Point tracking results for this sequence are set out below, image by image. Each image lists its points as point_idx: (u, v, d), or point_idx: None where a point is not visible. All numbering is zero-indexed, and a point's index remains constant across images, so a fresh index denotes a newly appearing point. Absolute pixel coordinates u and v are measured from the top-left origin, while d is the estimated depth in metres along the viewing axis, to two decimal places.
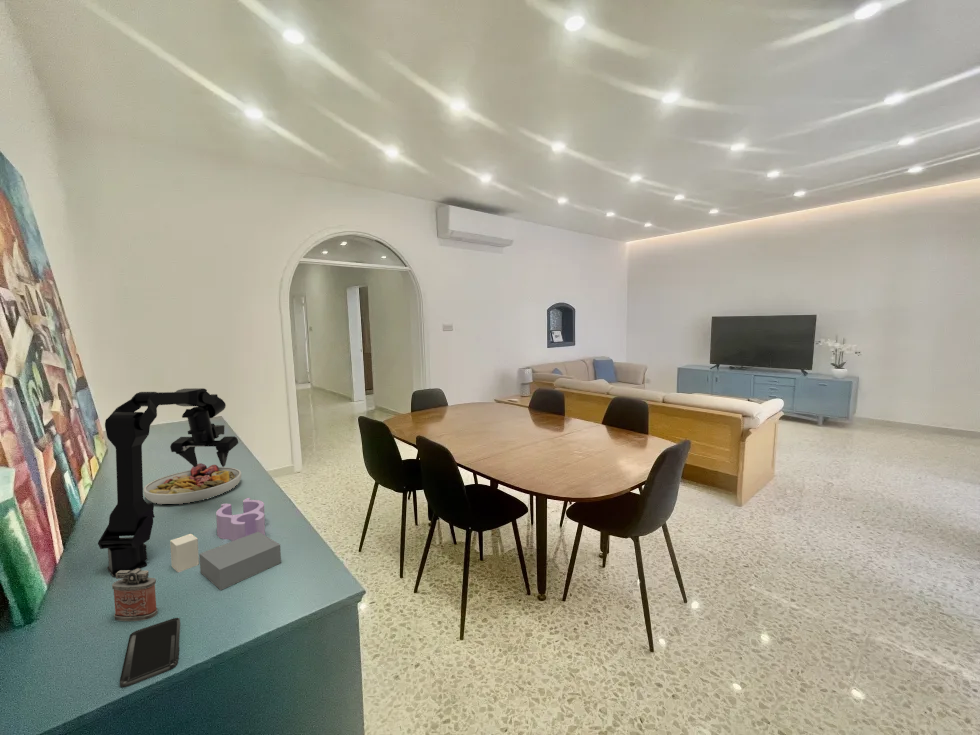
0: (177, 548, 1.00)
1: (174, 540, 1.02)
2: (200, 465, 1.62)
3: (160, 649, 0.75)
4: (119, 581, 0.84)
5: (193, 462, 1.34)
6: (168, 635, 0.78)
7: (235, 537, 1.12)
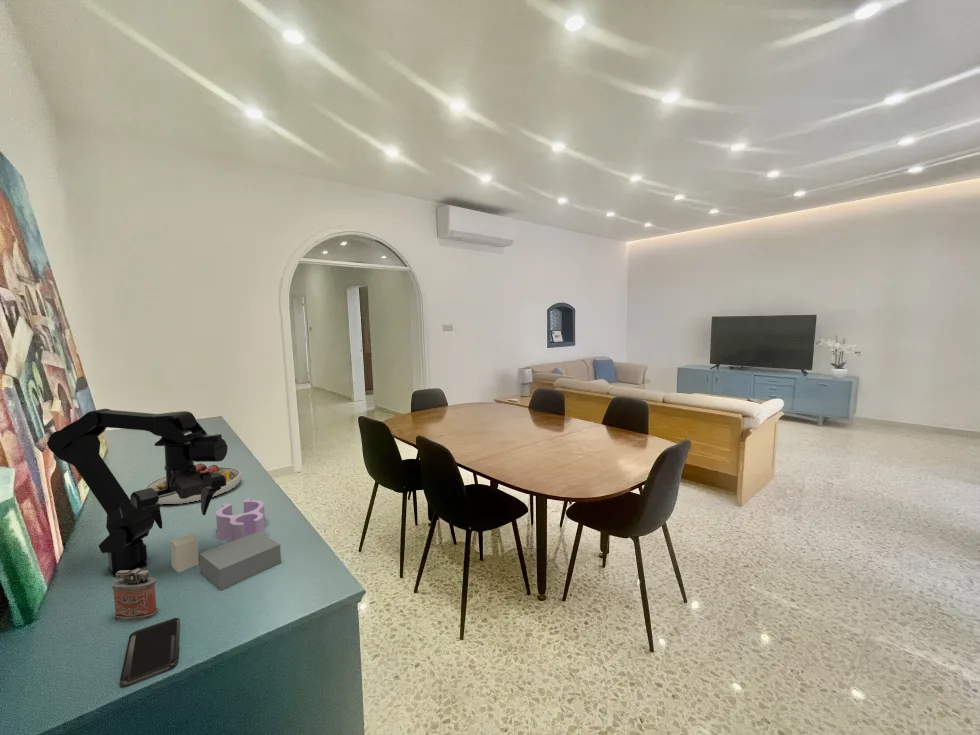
0: (177, 548, 1.00)
1: (174, 540, 1.02)
2: (200, 465, 1.62)
3: (160, 649, 0.75)
4: (119, 581, 0.84)
5: (201, 506, 1.06)
6: (168, 635, 0.78)
7: (234, 537, 1.12)
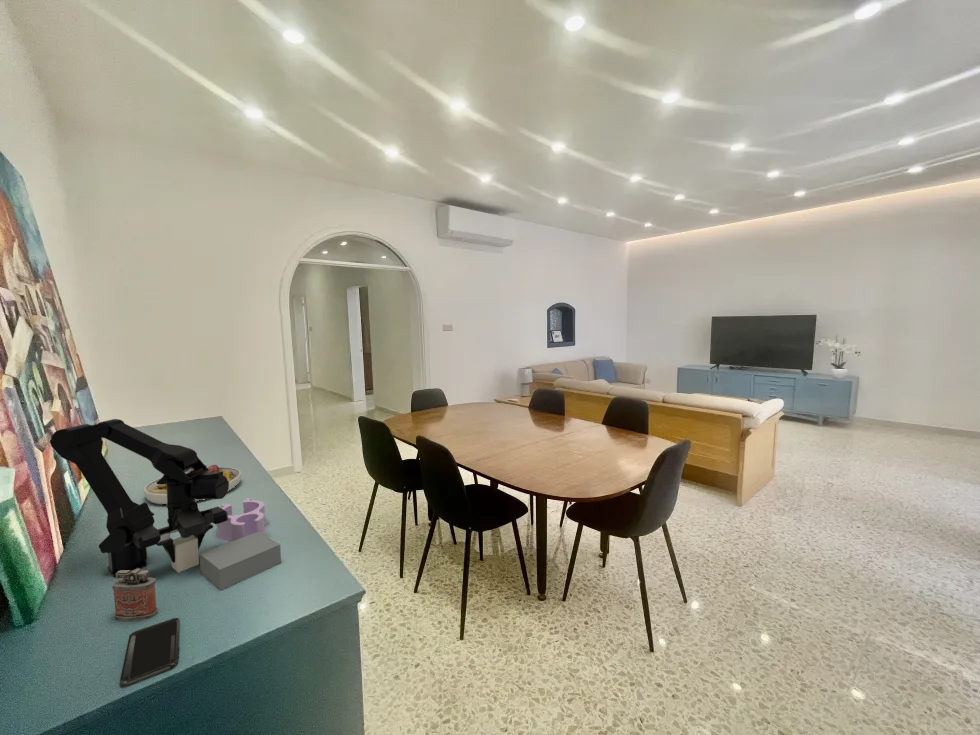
0: (177, 547, 1.00)
1: (174, 540, 1.02)
2: None
3: (160, 649, 0.75)
4: (119, 581, 0.84)
5: None
6: (168, 635, 0.78)
7: (235, 537, 1.12)
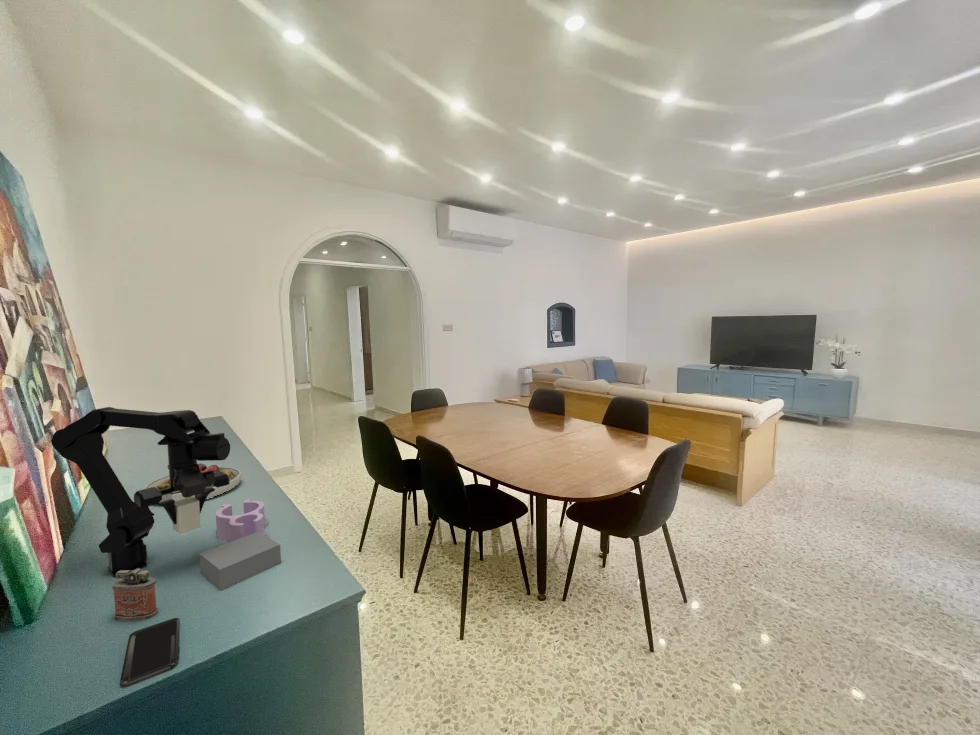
0: (178, 509, 0.99)
1: (175, 502, 1.01)
2: (200, 465, 1.62)
3: (160, 649, 0.75)
4: (119, 581, 0.84)
5: None
6: (168, 635, 0.78)
7: (233, 538, 1.11)
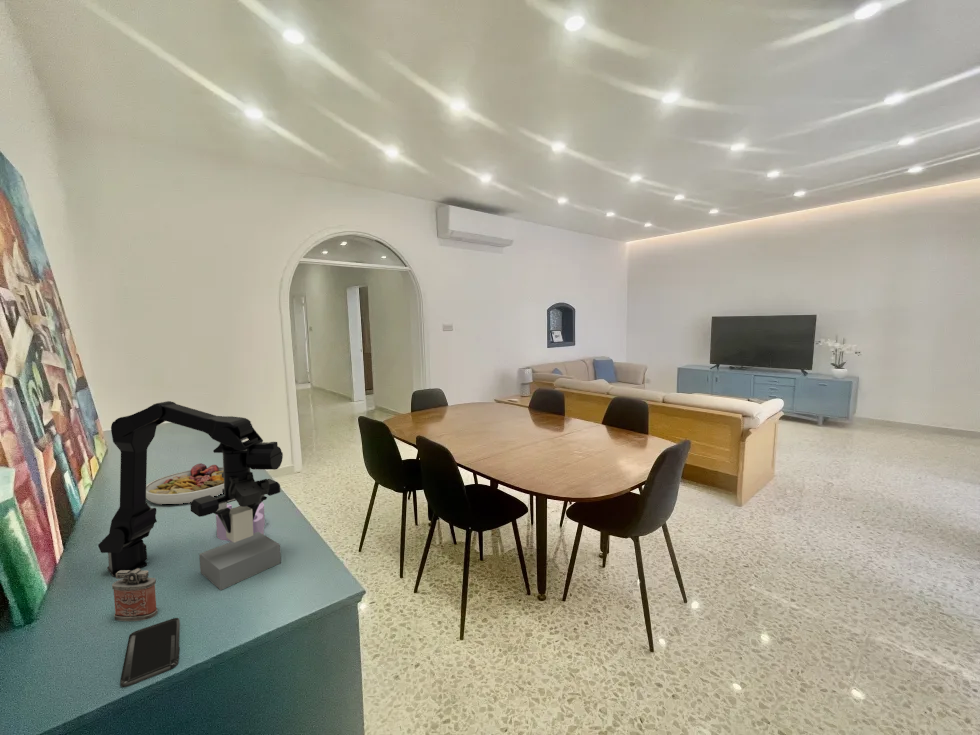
0: (233, 517, 0.98)
1: None
2: (200, 465, 1.62)
3: (160, 649, 0.75)
4: (119, 581, 0.84)
5: None
6: (168, 635, 0.78)
7: None
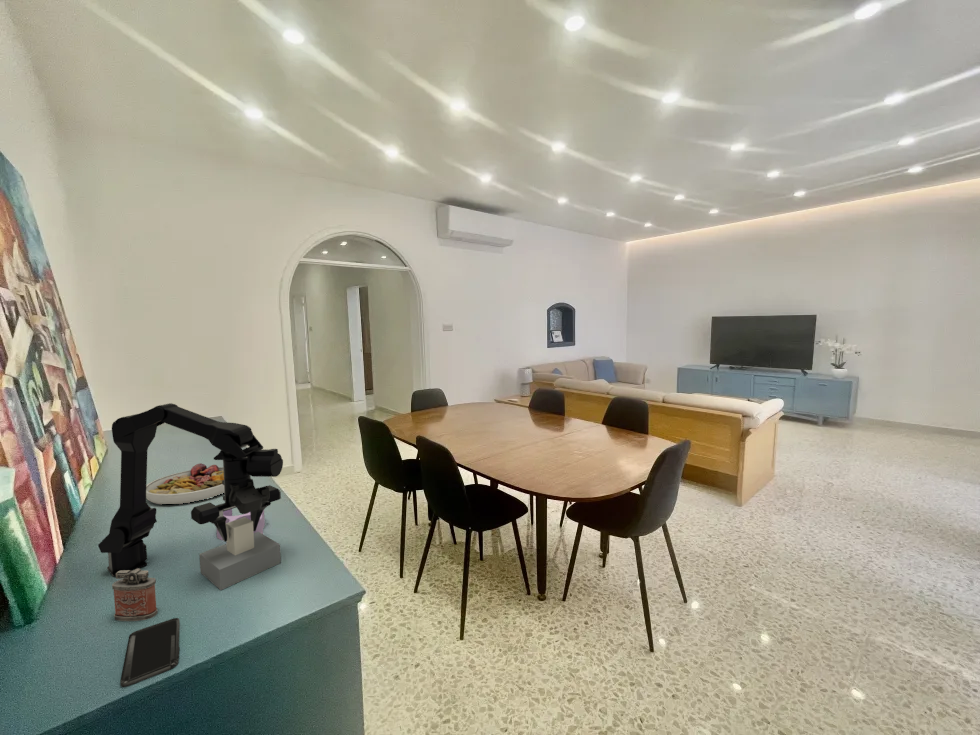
0: (234, 530, 0.98)
1: (230, 523, 1.01)
2: (200, 465, 1.62)
3: (160, 649, 0.75)
4: (119, 581, 0.84)
5: None
6: (168, 635, 0.78)
7: None
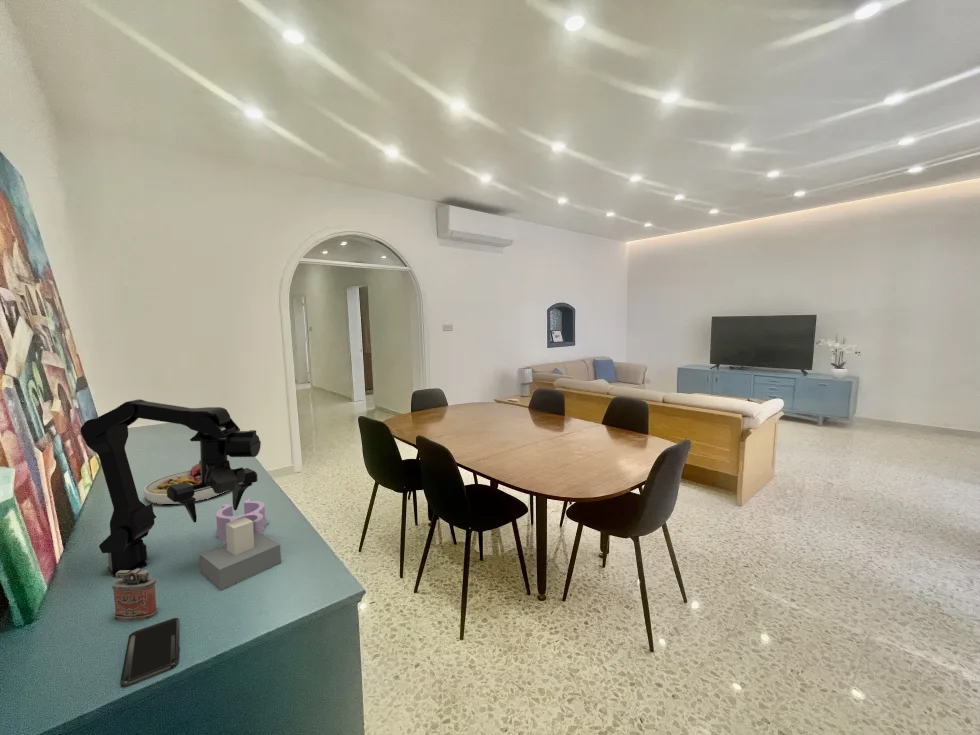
0: (234, 530, 0.98)
1: (230, 523, 1.01)
2: (200, 465, 1.62)
3: (160, 649, 0.75)
4: (119, 581, 0.84)
5: (233, 501, 1.08)
6: (168, 635, 0.78)
7: None
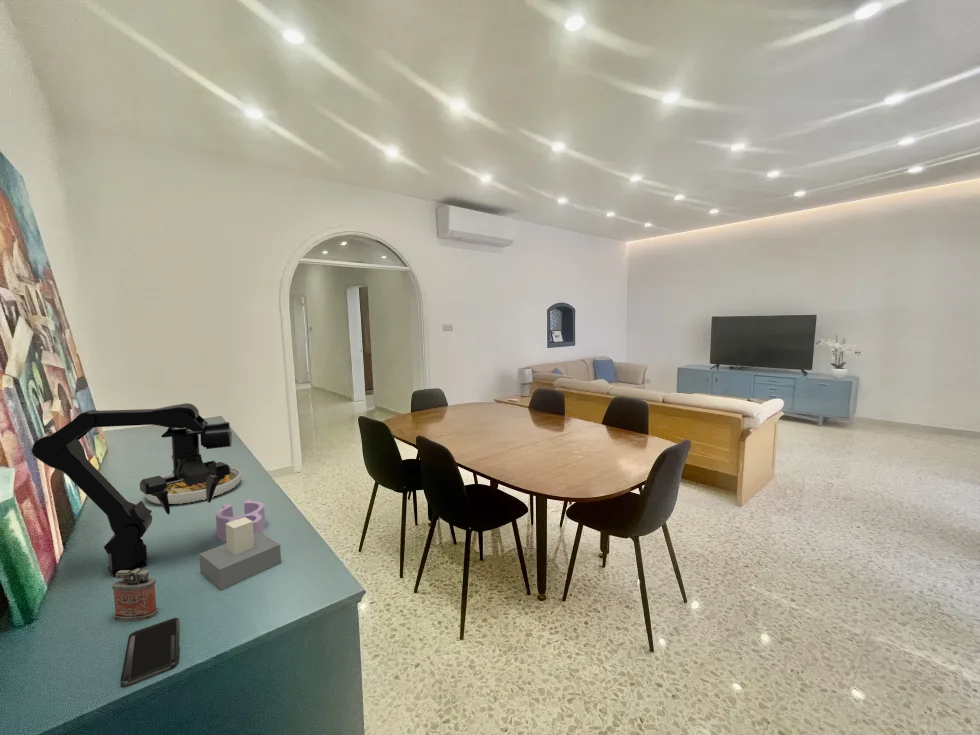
0: (234, 530, 0.98)
1: (230, 523, 1.01)
2: None
3: (160, 649, 0.75)
4: (119, 581, 0.84)
5: (206, 494, 1.12)
6: (168, 635, 0.78)
7: None
